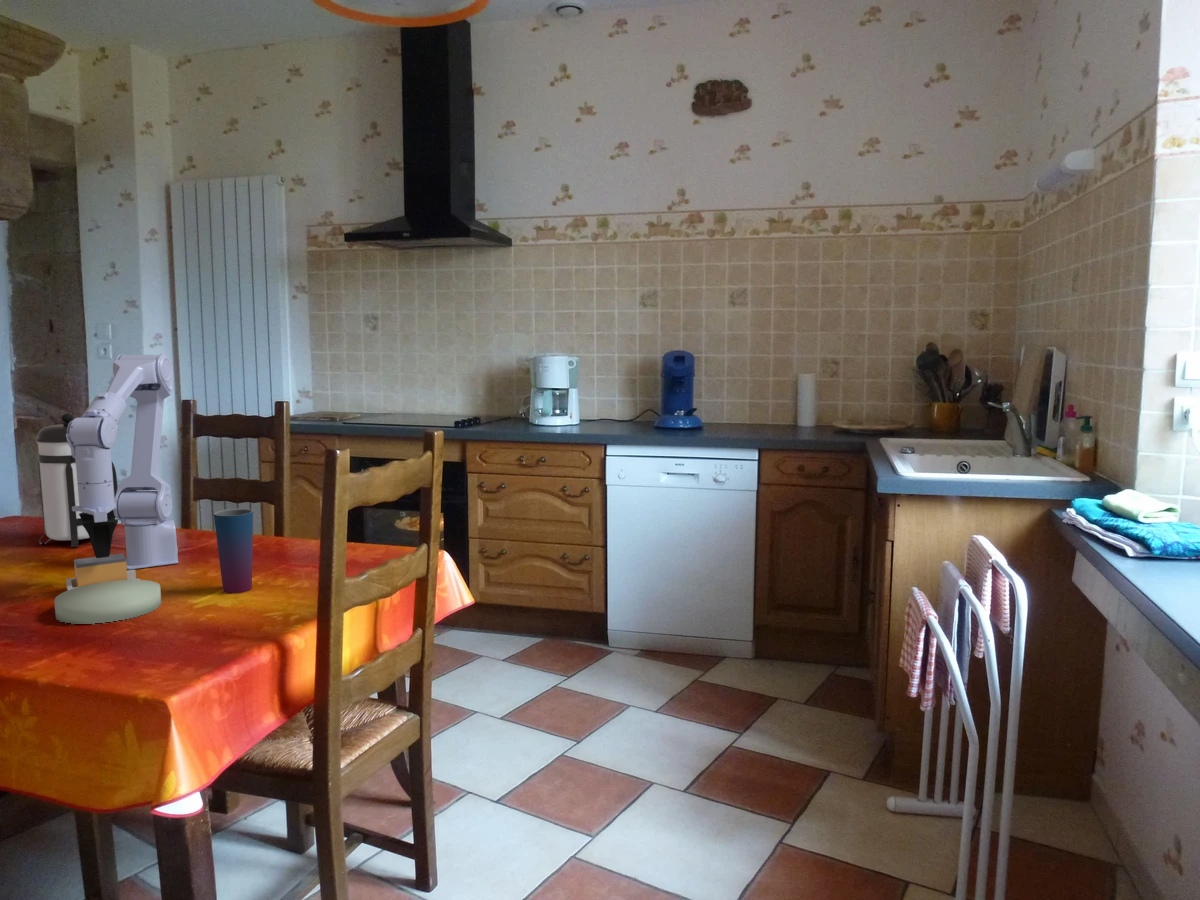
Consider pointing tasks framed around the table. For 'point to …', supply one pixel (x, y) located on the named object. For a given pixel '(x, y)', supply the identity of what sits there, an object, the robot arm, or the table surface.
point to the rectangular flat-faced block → (100, 569)
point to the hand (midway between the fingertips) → (101, 552)
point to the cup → (235, 548)
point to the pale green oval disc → (107, 600)
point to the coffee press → (60, 485)
